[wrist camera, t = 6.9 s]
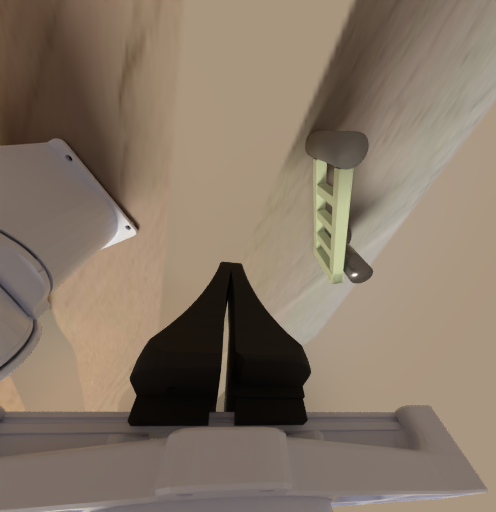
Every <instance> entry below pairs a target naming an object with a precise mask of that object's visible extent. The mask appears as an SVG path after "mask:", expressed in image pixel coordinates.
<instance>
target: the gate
mask: <svg viewBox="0 0 496 512" xmlns="http://www.w3.org/2000/svg"><path fill="white" fill-rule="evenodd" d="M305 148H306V152H307V154H308V155H309V156H311V157H314V158H313V193H314V255H315V257H316V258H317V260H318V262H319V263H320V265H321V267H322V268H323V270H324V272H325V273H326V275H327V277H328V278H329V280H330V282H331V284H336V283H342V282H343V268H344V258H345V248H346V238H347V228H348V218H349V208H350V198H351V188H352V178H353V168H354V167H356V166H357V165H359V164H360V163H361V162H362V160H363V159H364V158H365V156H366V154H367V151H368V139H367V137H366V136H365V135H364V134H363V133H361V132H353V131H323V130H318V131H315V132H313V133H312V134H311V135H310V136H309V137H308V139H307V141H306V145H305ZM327 163H328V164H331V165H333V166H336V167H334V186H333V187H331V186H330V185H328V184H327V183H326V172H327ZM326 202H327V203H329V204H330V205H331V206H332V215H331V214H330V213H329V212H328V211H327V210H326ZM325 228H326V229H327V230H328V231H329V233H330V234H331V238H330V237H329V236H328V235H327V233H326V232H325Z"/></svg>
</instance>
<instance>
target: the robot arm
mask: <svg viewBox="0 0 496 512" xmlns="http://www.w3.org/2000/svg"><path fill="white" fill-rule="evenodd" d="M69 156H71V158H72V160H70V158H69ZM127 225H128V226H130V228H128V226H127ZM137 233H138V230H137V228H136V227H135V226H134V225H133V223H132V222H131V221H130V220H129V219H128V217H127V216H126V215H125V214H124V213H123V211H122V210H121V209H120V208H119V206H118V205H117V204H116V203H115V202H114V200H113V199H112V198H111V197H110V196H109V194H108V193H107V192H106V191H105V190H104V188H103V187H102V186H101V185H100V183H99V182H98V181H97V180H96V179H95V177H94V176H93V175H92V174H91V173H90V171H89V170H88V169H87V168H86V167H85V165H84V164H83V163H82V162H81V160H80V159H79V158H78V157H77V156H76V154H75V153H74V152H73V151H72V150H71V148H70V147H69V146H68V145H67V144H66V142H65V141H63V140H62V139H59V138H55V139H52V140H50V141H48V142H45V143H32V144H19V145H6V146H0V382H1V381H2V380H4V379H5V378H6V377H7V376H9V375H10V374H11V373H12V372H13V371H14V370H15V369H17V368H18V367H19V366H20V365H21V364H22V363H23V362H24V361H25V360H26V359H27V358H28V356H29V355H30V354H31V353H32V351H33V350H34V349H35V347H36V346H37V344H38V342H39V340H40V337H41V334H42V327H41V324H40V322H39V321H38V320H37V319H38V318H39V317H40V316H41V315H42V314H43V313H44V312H45V311H46V310H47V309H48V308H49V307H50V304H49V303H48V300H47V297H48V296H49V295H50V294H51V293H52V292H53V291H54V290H56V289H57V288H58V287H59V286H60V285H61V284H62V283H64V282H65V281H66V280H67V279H68V278H69V277H70V276H71V275H73V274H74V273H75V272H76V271H77V270H78V269H79V268H81V267H82V266H83V265H84V264H85V263H86V262H87V261H88V260H90V259H91V258H92V257H93V256H94V255H95V254H96V253H98V252H99V251H100V250H101V249H104V248H106V247H109V246H111V245H113V244H116V243H118V242H120V241H123V240H125V239H127V238H130V237H132V236H134V235H136V234H137ZM227 301H228V323H229V340H228V357H227V372H226V387H225V402H224V412H216V403H217V397H218V389H219V381H220V373H221V363H222V349H223V332H224V318H225V313H226V307H227ZM310 374H311V369H310V365H309V362H308V359H307V357H306V354H305V352H304V350H303V347H302V345H300V344H299V343H298V342H297V341H296V340H295V339H294V338H292V337H291V336H290V335H289V334H288V333H287V332H286V331H285V330H284V329H283V328H282V327H281V326H280V325H279V324H278V323H277V322H276V321H275V320H274V319H273V317H272V316H271V315H270V314H269V313H268V311H267V310H266V309H265V308H264V306H263V305H262V303H261V302H260V300H259V299H258V297H257V296H256V294H255V292H254V291H253V289H252V287H251V285H250V283H249V281H248V279H247V277H246V274H245V272H244V269H243V266H242V264H241V263H230V262H221V263H220V265H219V268H218V270H217V272H216V274H215V275H214V277H213V279H212V280H211V282H210V283H209V285H208V286H207V287H206V289H205V290H204V291H203V293H202V294H201V295H200V296H199V298H198V299H197V300H196V301H195V302H194V303H193V304H192V305H191V306H190V307H189V308H188V309H187V310H186V311H185V312H184V313H183V314H182V315H181V316H179V317H178V318H177V319H176V320H175V321H174V322H172V323H171V324H170V325H169V326H167V327H166V328H165V329H163V330H162V331H161V332H159V333H158V334H156V335H155V336H154V337H152V338H151V339H150V340H149V341H148V343H147V344H146V346H145V347H144V349H143V350H142V352H141V354H140V356H139V357H138V359H137V362H136V364H135V366H134V369H133V371H132V373H131V376H130V382H131V384H132V386H133V388H134V391H135V393H136V395H137V396H136V399H135V402H134V404H133V407H132V409H131V412H5V409H3V408H2V407H1V406H0V512H333V511H332V507H335V506H348V505H361V504H373V503H388V502H401V501H416V500H432V499H443V498H450V497H457V496H465V495H471V494H478V493H486V492H487V490H488V489H487V488H486V486H485V485H484V483H483V482H482V480H481V479H480V477H479V476H478V474H477V473H476V472H475V470H474V469H473V467H472V466H471V464H470V463H469V461H468V460H467V458H466V457H465V456H464V454H463V453H462V451H461V450H460V449H459V447H458V445H457V444H456V442H455V441H454V440H453V438H452V437H451V435H450V434H449V433H448V431H447V429H446V428H445V427H444V425H443V424H442V422H441V421H440V419H439V418H438V416H437V415H436V413H435V412H434V410H433V409H432V407H430V406H428V405H408V406H403V407H400V408H398V409H397V410H396V411H395V412H306V410H305V406H304V401H303V398H304V397H305V396H304V391H303V385H304V383H305V382H306V381H307V379H308V378H309V376H310Z"/></svg>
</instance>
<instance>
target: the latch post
mask: <svg viewBox="0 0 496 512" xmlns="http://www.w3.org/2000/svg"><path fill="white" fill-rule="evenodd" d="M325 232H326V233H327V235H328V236H329V237H330V238H331V234H330V233H329V231H328V230H327V229H326V228H325ZM350 240H351V233H350V231H349V229H348V228H347V238H346V248H345V258H344V268H343V271H344V272H345V274H346V275H347V276H348V278H349V279H350V281H351V282H353V283H362V282H365V281H366V280H368V279H369V278H370V277H371V276H372V274H373V270H372V268H371V267H370V266H369V265H368V264H367V263H366V262H365V261H364V260H363V259H362V258H361V257H360V255H359V254H358V253H357V252H356V251H355V250H354V249H353V248H352V247H351V246H350V245H349V243H350Z"/></svg>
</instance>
